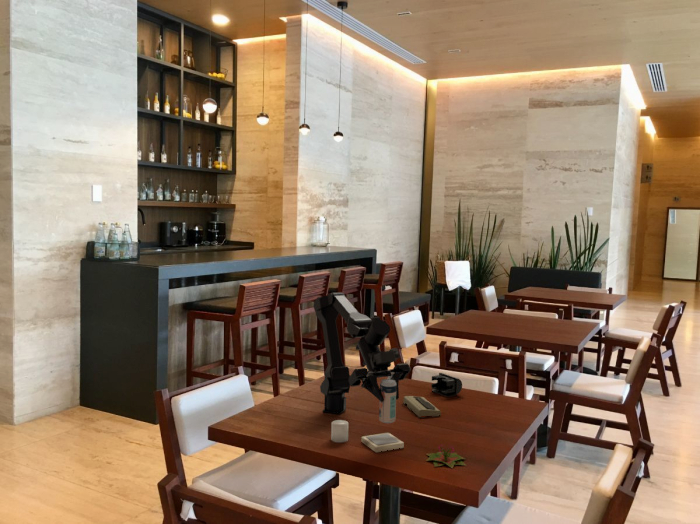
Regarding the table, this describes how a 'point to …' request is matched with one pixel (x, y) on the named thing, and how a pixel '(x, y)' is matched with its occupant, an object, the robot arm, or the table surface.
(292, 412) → the table surface
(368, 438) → the stand
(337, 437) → the white rounded cylinder
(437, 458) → the lily flower
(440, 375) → the end cap
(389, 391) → the beer can
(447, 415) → the table surface
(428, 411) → the computer
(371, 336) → the robot arm
